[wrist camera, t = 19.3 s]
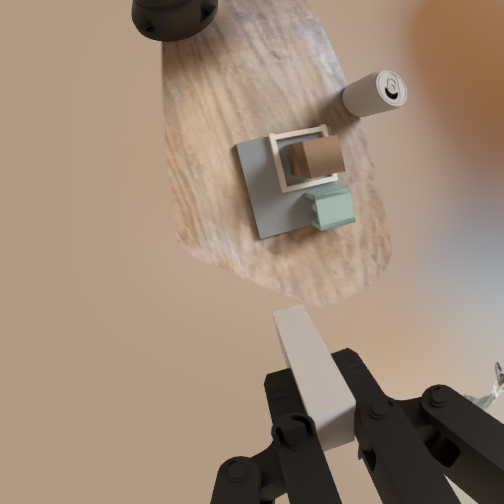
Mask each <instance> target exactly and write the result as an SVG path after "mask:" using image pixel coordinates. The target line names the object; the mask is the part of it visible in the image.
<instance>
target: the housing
mask: <svg viewBox="0 0 504 504" xmlns="http://www.w3.org/2000/svg"><path fill="white" fill-rule="evenodd" d="M305 193H306V197H308V198H310V199H313V200H314V203H315V208H316V213H317V218H316V219H312V220H311V223H312V225H313V226H315V227H316V228H318V229H319V230H321V231H324V230H327V229H331V228H335V227H338V226H342V225H346V224H349V223H353V222H355V215H354V208H353V202H352V196H351V190H350V187H346V186H342V185H334V186H330V187H325V188H321V189H317V190H313V191H308V192H305Z"/></svg>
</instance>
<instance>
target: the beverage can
mask: <svg viewBox="0 0 504 504" xmlns="http://www.w3.org/2000/svg"><path fill="white" fill-rule="evenodd" d="M342 98H343V103H344V105H345V107H346V109H347V110H348V111H349V112H350V113H351V114H353V115H355V116H358V117H365V116H369V115H373V114H377V113H381V112H385V111H389V110H394V109H397V108H399V107H400V106H401V105H402V104H403V103H404V102H405V101H406V98H407V88H406V85H405V83H404V81H403V80H402V79H401V78H400V76H399V75H397V74H396V73H394V72H392V71H388V70H379V71H376V72H374V73H372V74H370V75H368V76H366V77H364V78H362V79H360V80H358V81H356V82H354V83H352V84H350V85H348V86H347V87H346V88H345V89H344V91H343V95H342Z"/></svg>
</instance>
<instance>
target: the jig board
mask: <svg viewBox="0 0 504 504" xmlns="http://www.w3.org/2000/svg"><path fill="white" fill-rule="evenodd" d="M327 136H332V132H331V127H330V126H326V124H322V125H319V127H314V128H308V129H303V130H297V131H292V132H286V133H281V134H276V135H274V133H272V134H268V137H264V138H260V139H255V140H251V141H247V142H243V143H239V144H236V148H237V151H238V155H239V159H240V163H241V167H242V171H243V175H244V178H245V182H246V186H247V190H248V194H249V198H250V202H251V206H252V210H253V214H254V218H255V221H256V225H257V229H258V233H259V237H260V239H262V238H266V237H270V236H273V235H277V234H281V233H284V232H288V231H292V230H296V229H299V228H303V227H307V226H311V225H312V223H311V220H312V219H316V218H317V213H316V208H315V203H314V200H313V199H310V198H308V197H306V193H305V192H308V191H313V190H317V189H321V188H325V187H330V186H334V185H342V186H343V184H342V179H341V173H340V172H339V173H335V174H330V175H326V176H322V177H317V178H313V179H309V178H304V177H299V176H293V175H292V173H291V169H290V165H289V161H288V157H287V153H286V149H285V145H289V144H293V143H297V142H301V141H306V140H311V139H316V138H322V137H327Z"/></svg>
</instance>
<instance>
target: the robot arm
mask: <svg viewBox="0 0 504 504" xmlns="http://www.w3.org/2000/svg"><path fill="white" fill-rule="evenodd" d="M217 9H218V0H133V4H132V20H133V23H134V25H135V26H136V28H137V29H138V31H139V32H140V33H141V34H142V35H144V36H145V37H147V38H150V39H153V40H157V41H175V40H180V39H184V38H187V37H190V36H192V35H194V34H196V33H198V32H200V31H201V30H203V29H204V28H205V27H206V26H208V25H209V24H210V22H211V21H212V20H213V19H214V17H215V15H216V13H217ZM272 313H273V318H274V321H275V325H276V329H277V333H278V337H279V340H280V345H281V348H282V353H283V356H284V359H285V362H286V365H287V369H284V370H281V371H277V372H273V373H270V374H267V375H266V379H265V382H264V387H265V392H266V396H267V401H268V405H269V410H270V414H271V418H272V423H273V426H272V430H271V435H272V437H273V441H272V443H271V445H270V446H269V447H268V448H267V449H265V450H264V451H262V452H261V453H259V454H257V455H255V456H253V457H251V458H249V457H243V456H239V457H233V458H231V459H228V460H226V461H225V462H224V463H223V464H222V465H221V466H220V468H219V471H218V473H217V478H216V482H215V486H214V490H213V494H212V499H211V503H210V504H275V499H276V498H277V497H279V496H281V495H283V494H285V493H287V494H288V498H289V502H290V504H342V502H341V499H340V497H339V494H338V491H337V488H336V486H335V483H334V480H333V477H332V475H331V472H330V470H329V467H328V464H327V461H326V458H325V455H324V453H323V452H324V451H327V450H329V449H332V448H335V447H338V446H341V445H344V444H346V443H349V442H352V441H354V440H355V436H356V438H357V440H358V443H359V449H358V458H359V460H360V459H361V458H362V459H363V461H364V463H365V465H366V467H367V469H368V472H369V474H370V476H371V478H372V480H373V483H374V485H375V487H376V489H377V491H378V494H379V496H380V498H381V500H382V503H383V504H461V503H460V501H459V499H458V497H457V496H456V494H455V492H454V491H453V489H452V487H451V486H450V484H449V482H448V481H447V479H446V477H445V476H447V477H448V478H449V479H450V480H451V481H452V482H453V483H455V484H456V485H457V486H458V487H459V488H460V489H462V490H463V491H464V492H465V493H466V494H468V495H469V496H470V497H471V498H472V499H474V500H475V501H476V502H477V503H478V504H504V424H502V423H501V422H499V421H498V420H497V419H495V418H493V417H492V416H491V415H489V414H488V413H486V412H485V411H484V410H482V409H481V408H479V407H478V406H476V405H475V404H473V403H472V402H471V401H469V400H468V399H466V398H465V397H463V396H462V395H460V394H459V393H458V392H456V391H455V390H453V389H452V388H450V387H448V386H446V385H439V384H438V385H434V386H431V387H429V388H428V389H426V390H425V392H424V393H423V394H422V397H419V398H414V399H409V400H402V401H401V400H394V399H393V398H390V397H388V396H386V395H385V394H384V392H383V391H382V390H381V388H380V386H379V385H378V383H377V382H376V380H375V379H374V378H373V376H372V374H371V373H370V371H369V370H368V369H367V367H366V366H365V364H364V363H363V361H362V360H361V358H360V357H359V355H358V354H357V353H356V352H354V351H352V350H351V349H349V348H346V349H343V350H341V351H338V352H335V353H332V354H330V353H329V351H328V349H327V348H326V346H325V344H324V342H323V340H322V339H321V337H320V335H319V333H318V332H317V330H316V328H315V326H314V325H313V323H312V321H311V319H310V317H309V316H308V314H307V312H306V310H305V309H304V307H303V305H302V304H299V305H296V306H292V307H289V308H285V309H282V310H279V311H275V312H272ZM444 475H445V476H444Z"/></svg>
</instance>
